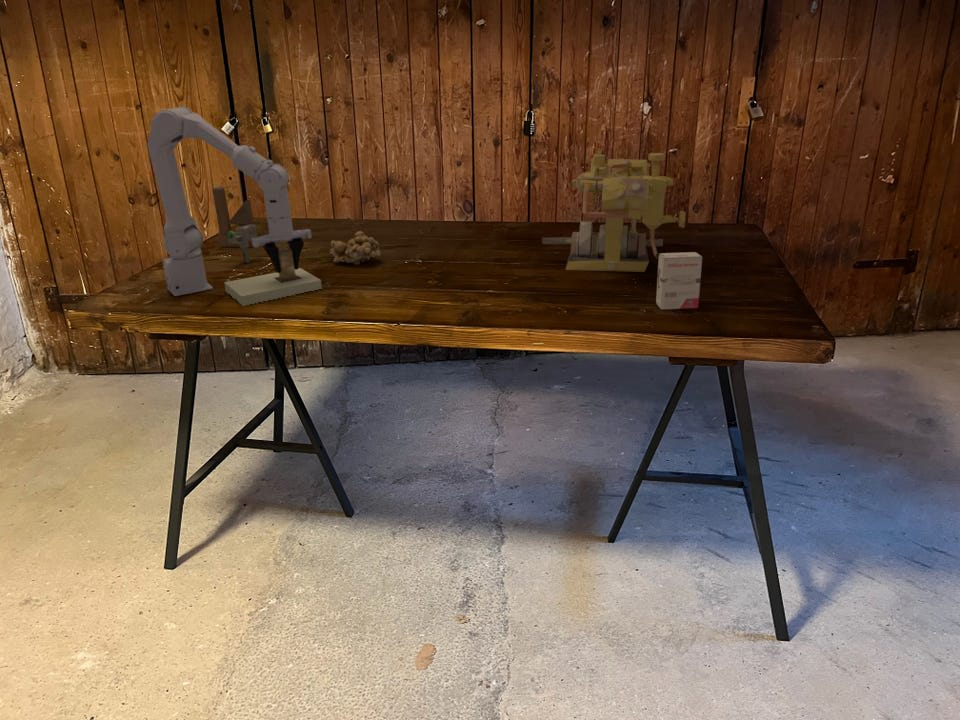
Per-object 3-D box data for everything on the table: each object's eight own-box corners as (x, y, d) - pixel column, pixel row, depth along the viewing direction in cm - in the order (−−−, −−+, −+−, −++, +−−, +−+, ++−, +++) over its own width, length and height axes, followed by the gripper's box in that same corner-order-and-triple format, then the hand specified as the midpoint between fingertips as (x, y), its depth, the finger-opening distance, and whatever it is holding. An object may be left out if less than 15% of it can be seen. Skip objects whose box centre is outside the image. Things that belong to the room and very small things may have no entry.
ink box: (691, 301, 165) (696, 250, 160) (698, 308, 160) (703, 256, 155) (654, 302, 164) (658, 252, 160) (660, 310, 160) (664, 258, 155)
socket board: (243, 306, 170) (241, 296, 169) (225, 291, 181) (224, 282, 180) (322, 289, 180) (320, 280, 179) (301, 276, 191) (300, 267, 190)
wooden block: (252, 247, 222) (243, 188, 214) (219, 247, 223) (209, 188, 216) (257, 244, 225) (248, 186, 218) (224, 244, 226) (214, 186, 219)
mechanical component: (229, 266, 202) (223, 231, 198) (255, 257, 211) (250, 223, 207) (237, 267, 201) (231, 232, 197) (263, 258, 209) (258, 224, 205)
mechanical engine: (683, 288, 173) (695, 160, 161) (532, 283, 180) (533, 160, 168) (676, 246, 208) (685, 139, 196) (550, 244, 215) (551, 140, 203)
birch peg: (283, 284, 179) (279, 253, 176) (277, 280, 182) (273, 250, 179) (298, 281, 182) (294, 250, 178) (292, 277, 185) (288, 247, 181)
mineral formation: (367, 252, 212) (394, 259, 201) (328, 268, 205) (353, 276, 194) (360, 226, 208) (387, 232, 197) (320, 242, 202) (345, 248, 190)
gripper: (255, 223, 169) (263, 279, 174) (313, 214, 176) (320, 268, 181) (245, 218, 174) (254, 272, 179) (302, 210, 181) (309, 262, 187)
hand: (286, 270), depth 181 cm, fingers closed on birch peg, 4 cm apart
